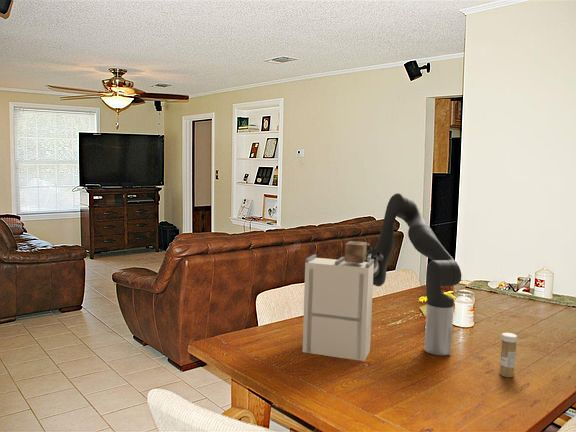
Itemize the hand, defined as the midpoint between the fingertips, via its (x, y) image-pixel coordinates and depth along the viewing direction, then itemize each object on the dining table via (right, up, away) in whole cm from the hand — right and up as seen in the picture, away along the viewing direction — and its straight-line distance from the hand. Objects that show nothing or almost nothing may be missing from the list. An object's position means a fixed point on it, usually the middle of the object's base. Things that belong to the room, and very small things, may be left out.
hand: (361, 246), depth 185 cm
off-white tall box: (-10, -37, -3) cm, 38 cm away
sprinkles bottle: (+44, -40, -20) cm, 63 cm away
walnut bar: (-1, -3, -3) cm, 5 cm away
